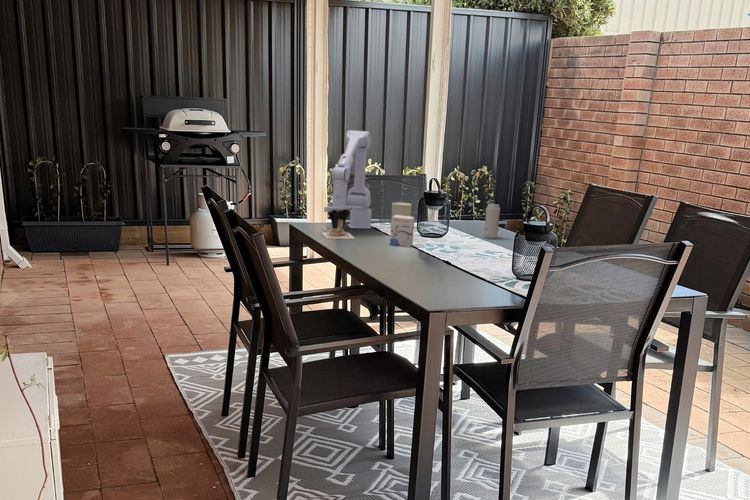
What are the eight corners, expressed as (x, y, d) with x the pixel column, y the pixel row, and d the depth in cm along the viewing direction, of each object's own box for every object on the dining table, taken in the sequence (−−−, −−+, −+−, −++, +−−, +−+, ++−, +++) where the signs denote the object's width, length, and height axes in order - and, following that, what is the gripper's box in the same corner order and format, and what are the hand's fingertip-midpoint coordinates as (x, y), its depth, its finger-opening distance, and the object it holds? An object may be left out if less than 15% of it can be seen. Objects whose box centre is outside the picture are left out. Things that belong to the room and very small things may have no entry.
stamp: (338, 233, 288) (338, 218, 286) (345, 235, 284) (346, 220, 283) (328, 234, 284) (329, 219, 283) (336, 236, 281) (337, 220, 279)
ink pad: (340, 229, 301) (340, 226, 300) (343, 232, 293) (343, 229, 293) (322, 228, 299) (322, 226, 299) (325, 232, 291) (325, 229, 291)
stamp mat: (349, 233, 291) (349, 232, 291) (354, 239, 280) (354, 237, 280) (321, 233, 288) (321, 232, 288) (325, 238, 277) (325, 237, 277)
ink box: (389, 245, 271) (391, 216, 269) (392, 243, 276) (394, 214, 274) (410, 247, 269) (412, 218, 267) (413, 245, 274) (415, 216, 271)
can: (390, 226, 317) (391, 200, 314) (409, 227, 317) (411, 201, 314) (390, 229, 307) (392, 203, 305) (410, 230, 308) (412, 204, 305)
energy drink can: (483, 236, 303) (486, 203, 300) (496, 237, 303) (499, 204, 300) (484, 238, 298) (487, 205, 295) (497, 239, 297) (501, 206, 294)
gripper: (346, 193, 288) (345, 225, 291) (319, 195, 279) (318, 227, 281) (357, 196, 283) (355, 227, 286) (330, 197, 273) (329, 230, 276)
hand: (338, 228), depth 283 cm, fingers closed on stamp, 3 cm apart
